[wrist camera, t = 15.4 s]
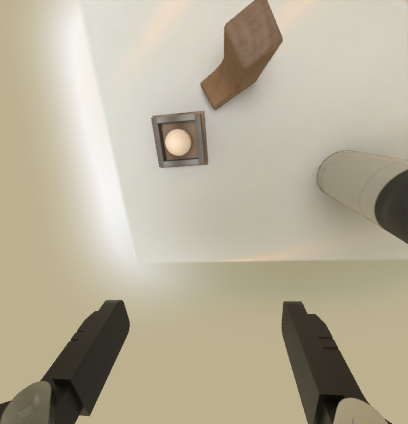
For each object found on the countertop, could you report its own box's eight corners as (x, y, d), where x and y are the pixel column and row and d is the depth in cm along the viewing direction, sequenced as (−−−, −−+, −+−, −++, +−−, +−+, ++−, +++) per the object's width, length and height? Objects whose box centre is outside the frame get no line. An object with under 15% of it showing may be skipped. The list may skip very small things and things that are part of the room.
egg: (196, 150, 41) (190, 154, 34) (174, 156, 42) (165, 161, 35) (189, 126, 40) (182, 125, 33) (167, 132, 40) (156, 133, 34)
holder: (203, 111, 39) (202, 109, 36) (207, 163, 43) (206, 166, 40) (154, 116, 40) (148, 115, 37) (162, 166, 44) (157, 169, 41)
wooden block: (214, 110, 39) (208, 96, 22) (202, 88, 38) (185, 55, 21) (257, 80, 37) (285, 40, 20) (245, 55, 35) (264, -11, 19)
